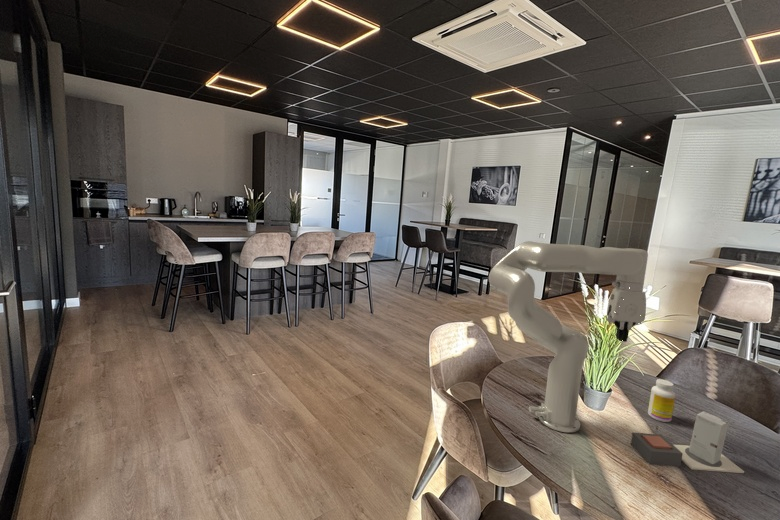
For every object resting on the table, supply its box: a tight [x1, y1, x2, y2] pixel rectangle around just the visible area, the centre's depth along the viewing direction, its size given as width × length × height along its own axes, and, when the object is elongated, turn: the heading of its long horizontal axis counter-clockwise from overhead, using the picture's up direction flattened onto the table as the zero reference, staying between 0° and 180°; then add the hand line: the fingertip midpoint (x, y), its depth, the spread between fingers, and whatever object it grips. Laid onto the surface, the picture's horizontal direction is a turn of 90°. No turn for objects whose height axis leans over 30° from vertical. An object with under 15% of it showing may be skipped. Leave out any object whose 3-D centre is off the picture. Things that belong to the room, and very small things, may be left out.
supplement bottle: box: [647, 378, 676, 423], centre depth 123 cm, size 7×7×13 cm
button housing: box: [630, 432, 683, 467], centre depth 103 cm, size 8×8×4 cm
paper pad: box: [673, 444, 745, 474], centre depth 103 cm, size 14×10×1 cm
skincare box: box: [689, 411, 730, 464], centre depth 102 cm, size 6×4×12 cm
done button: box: [642, 435, 671, 449], centre depth 103 cm, size 5×5×3 cm
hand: (621, 340), depth 120 cm, fingers closed
